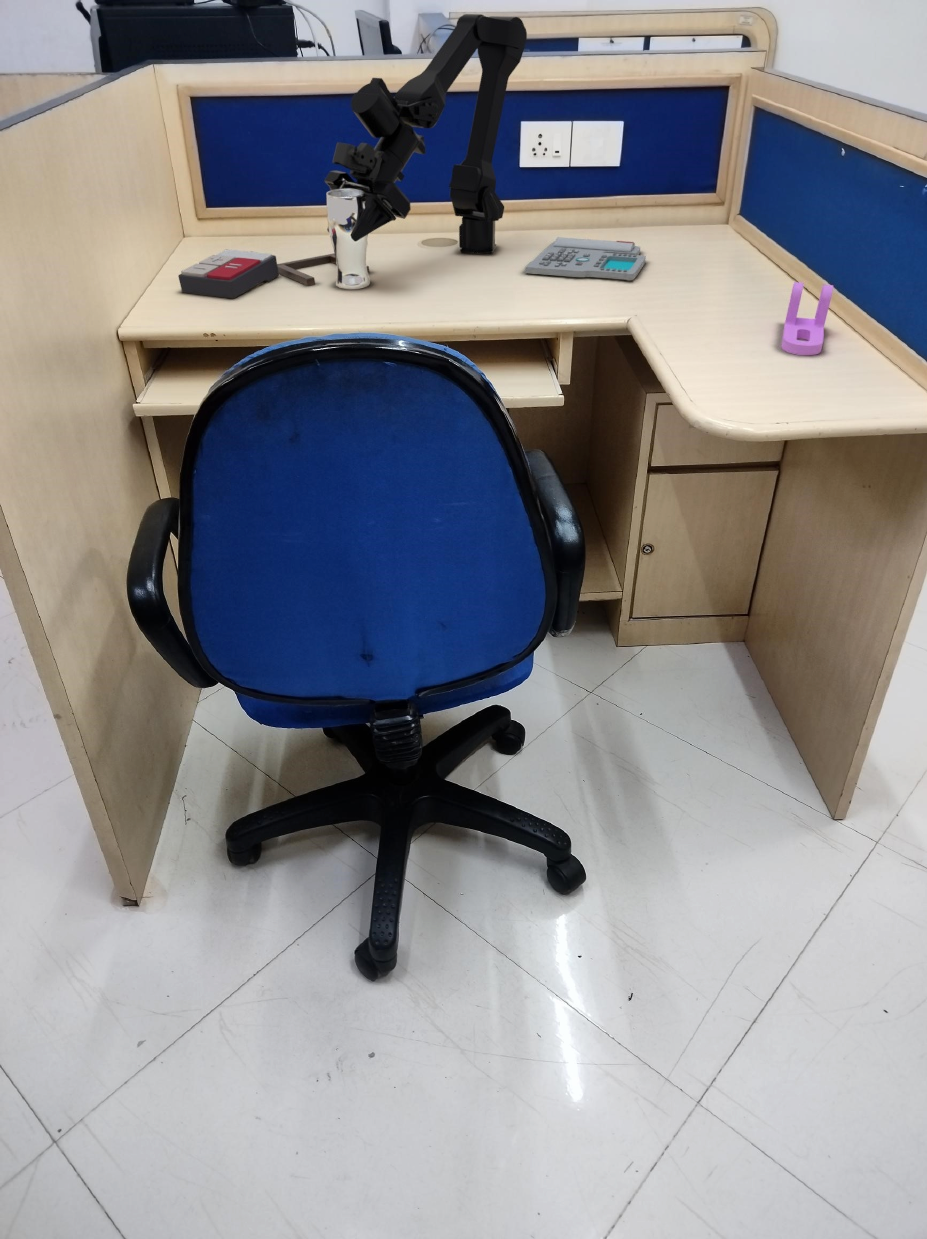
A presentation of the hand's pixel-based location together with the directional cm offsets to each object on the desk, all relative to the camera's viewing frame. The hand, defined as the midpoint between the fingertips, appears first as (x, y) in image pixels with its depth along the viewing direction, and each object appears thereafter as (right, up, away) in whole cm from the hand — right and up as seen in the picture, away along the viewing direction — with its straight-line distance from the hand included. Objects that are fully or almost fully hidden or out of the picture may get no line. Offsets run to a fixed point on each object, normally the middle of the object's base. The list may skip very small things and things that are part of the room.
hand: (341, 235), depth 145 cm
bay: (-6, -1, +13) cm, 14 cm away
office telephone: (+46, +2, +17) cm, 49 cm away
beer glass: (+1, -6, +6) cm, 9 cm away
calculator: (-21, -6, +7) cm, 23 cm away
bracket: (+72, -24, -19) cm, 78 cm away
